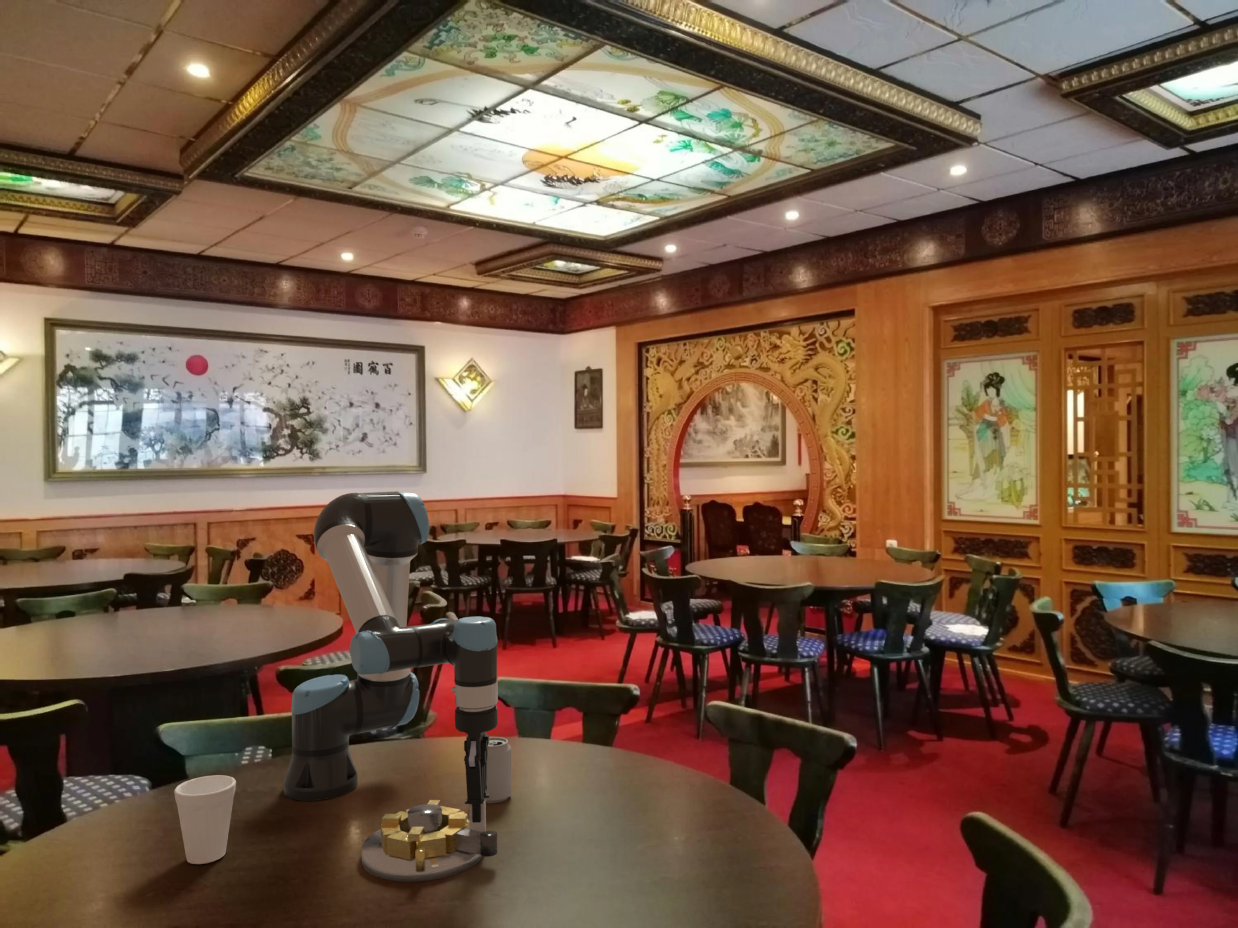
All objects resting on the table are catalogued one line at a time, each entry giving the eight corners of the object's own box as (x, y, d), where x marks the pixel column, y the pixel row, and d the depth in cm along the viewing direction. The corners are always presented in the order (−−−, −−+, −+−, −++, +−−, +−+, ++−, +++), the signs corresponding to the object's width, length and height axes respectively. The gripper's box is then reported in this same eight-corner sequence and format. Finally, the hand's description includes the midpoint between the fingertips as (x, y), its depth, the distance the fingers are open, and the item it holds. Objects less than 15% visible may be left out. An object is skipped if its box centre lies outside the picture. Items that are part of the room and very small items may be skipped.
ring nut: (364, 849, 151) (363, 825, 151) (417, 816, 165) (417, 794, 165) (471, 872, 142) (471, 847, 142) (518, 836, 155) (518, 813, 155)
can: (504, 805, 175) (504, 747, 175) (470, 803, 177) (469, 745, 177) (516, 792, 183) (515, 735, 183) (483, 789, 184) (482, 733, 184)
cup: (205, 874, 147) (204, 798, 147) (161, 865, 150) (160, 791, 150) (249, 850, 156) (248, 778, 156) (207, 842, 160) (206, 772, 160)
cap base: (343, 847, 157) (343, 806, 157) (454, 816, 170) (453, 779, 170) (390, 894, 139) (389, 848, 139) (509, 856, 152) (508, 814, 152)
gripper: (460, 695, 159) (462, 822, 159) (448, 716, 146) (450, 854, 146) (501, 694, 159) (503, 821, 159) (492, 716, 146) (494, 853, 147)
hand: (477, 837), depth 153 cm, fingers closed
